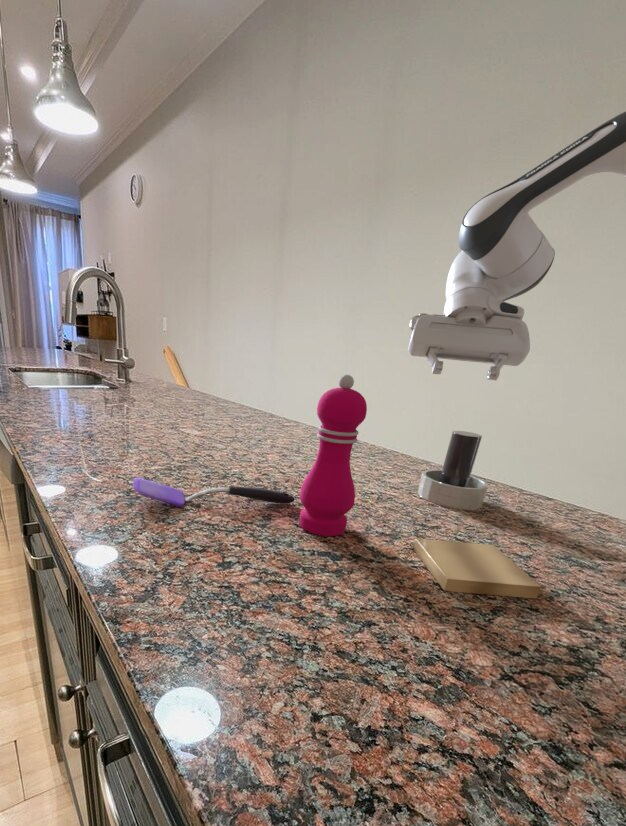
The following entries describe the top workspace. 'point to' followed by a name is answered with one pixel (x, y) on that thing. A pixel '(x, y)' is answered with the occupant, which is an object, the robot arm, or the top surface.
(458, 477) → the black canister
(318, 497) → the pepper mill
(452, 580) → the board
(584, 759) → the top surface
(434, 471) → the pan
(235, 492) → the spatula
